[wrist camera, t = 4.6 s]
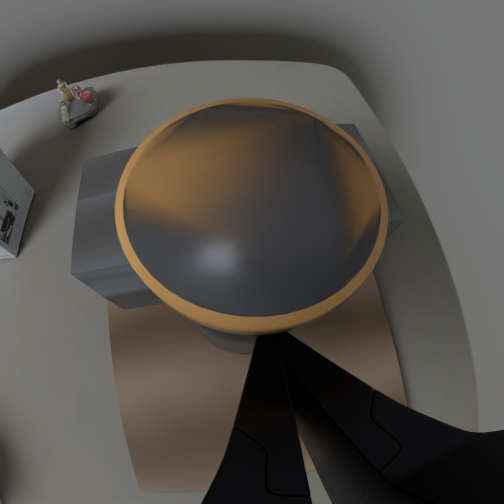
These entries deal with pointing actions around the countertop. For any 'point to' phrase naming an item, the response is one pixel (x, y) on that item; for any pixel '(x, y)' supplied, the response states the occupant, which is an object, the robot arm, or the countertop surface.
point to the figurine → (76, 103)
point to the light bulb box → (12, 207)
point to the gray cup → (251, 217)
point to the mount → (201, 346)
